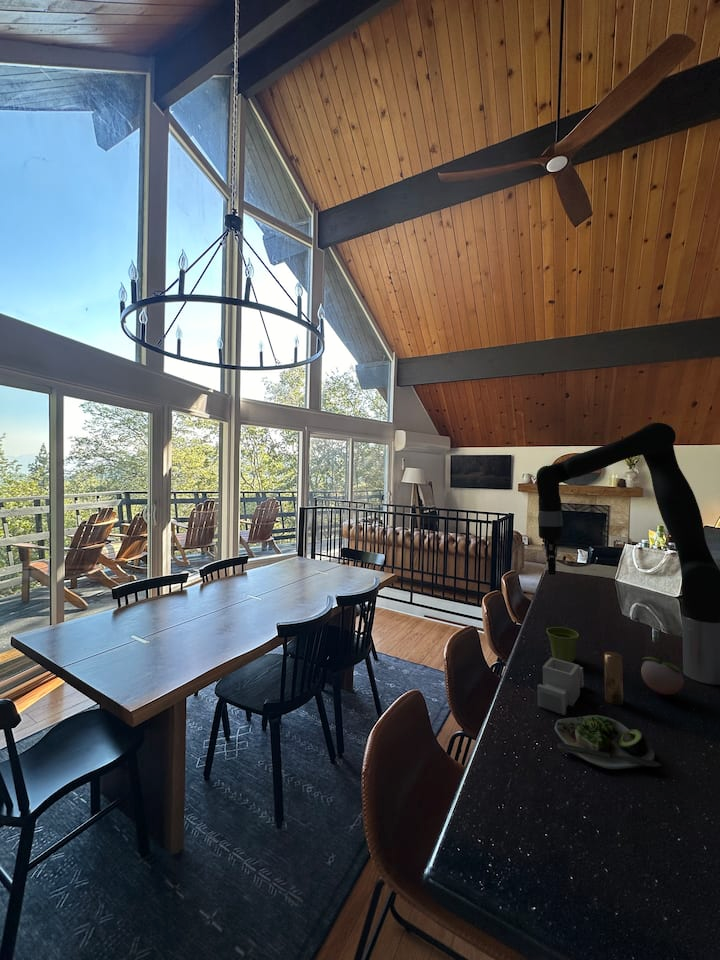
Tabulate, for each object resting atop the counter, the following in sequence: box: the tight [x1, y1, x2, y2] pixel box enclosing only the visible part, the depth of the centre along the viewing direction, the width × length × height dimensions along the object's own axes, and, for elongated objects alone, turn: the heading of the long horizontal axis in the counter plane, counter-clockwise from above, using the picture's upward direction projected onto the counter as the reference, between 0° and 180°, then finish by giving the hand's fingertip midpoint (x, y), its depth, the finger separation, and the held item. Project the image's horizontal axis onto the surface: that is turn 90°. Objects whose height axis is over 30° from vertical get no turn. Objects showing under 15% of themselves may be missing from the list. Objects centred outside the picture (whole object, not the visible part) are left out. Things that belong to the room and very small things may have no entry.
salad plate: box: [553, 714, 662, 770], centre depth 87 cm, size 19×18×5 cm
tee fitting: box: [536, 657, 584, 716], centre depth 107 cm, size 7×18×8 cm, turn 138°
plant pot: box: [545, 626, 580, 663], centre depth 129 cm, size 9×9×9 cm
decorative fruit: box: [640, 656, 685, 696], centre depth 107 cm, size 9×8×10 cm
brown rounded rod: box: [603, 651, 624, 706], centre depth 105 cm, size 4×4×12 cm
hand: (552, 571), depth 136 cm, fingers open, 8 cm apart
